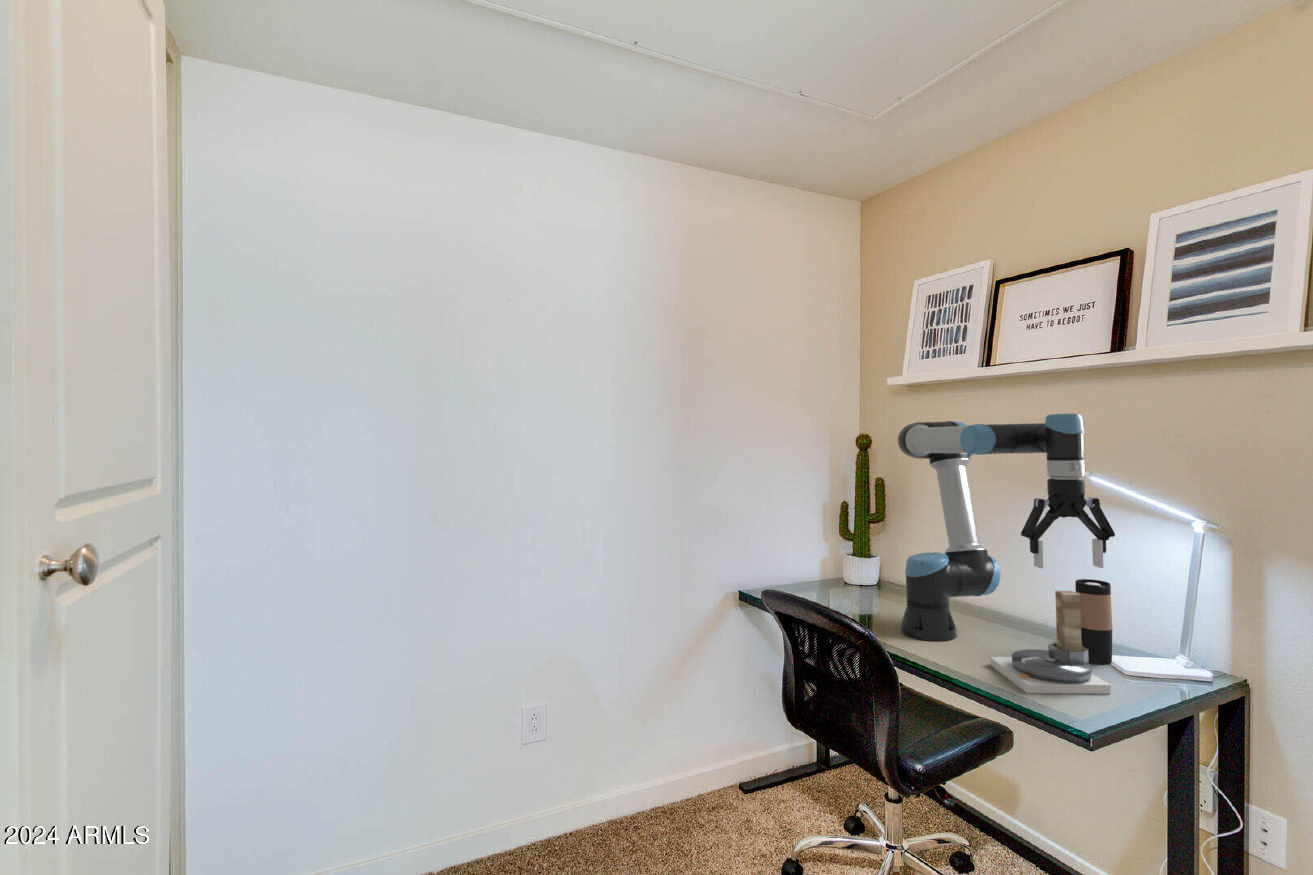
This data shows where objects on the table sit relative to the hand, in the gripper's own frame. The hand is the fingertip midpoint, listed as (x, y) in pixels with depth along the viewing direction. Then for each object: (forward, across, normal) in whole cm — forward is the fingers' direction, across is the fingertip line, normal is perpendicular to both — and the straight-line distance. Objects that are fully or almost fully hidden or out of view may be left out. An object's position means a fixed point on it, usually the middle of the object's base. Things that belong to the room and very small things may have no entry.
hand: (1068, 567), depth 147 cm
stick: (+22, 0, 0) cm, 22 cm away
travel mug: (+27, +14, +14) cm, 33 cm away
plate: (+27, -6, 0) cm, 27 cm away
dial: (+24, -5, -1) cm, 25 cm away
